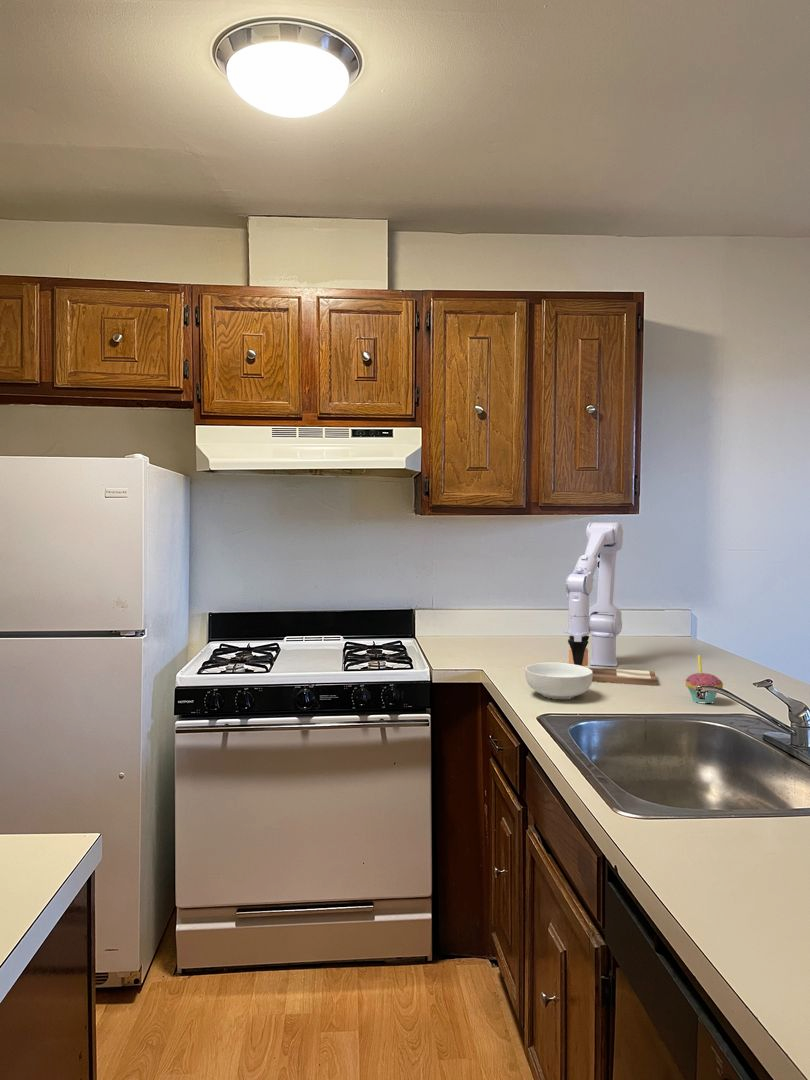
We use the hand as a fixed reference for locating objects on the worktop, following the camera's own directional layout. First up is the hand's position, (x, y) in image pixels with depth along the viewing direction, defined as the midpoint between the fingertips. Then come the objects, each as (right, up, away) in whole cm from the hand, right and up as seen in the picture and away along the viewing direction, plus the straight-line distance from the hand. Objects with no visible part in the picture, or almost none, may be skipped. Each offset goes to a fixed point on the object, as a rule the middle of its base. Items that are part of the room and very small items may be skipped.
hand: (578, 662), depth 205 cm
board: (+7, -4, -2) cm, 8 cm away
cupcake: (+24, -5, -27) cm, 37 cm away
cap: (0, -1, 0) cm, 0 cm away
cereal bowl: (-10, -5, -22) cm, 24 cm away
